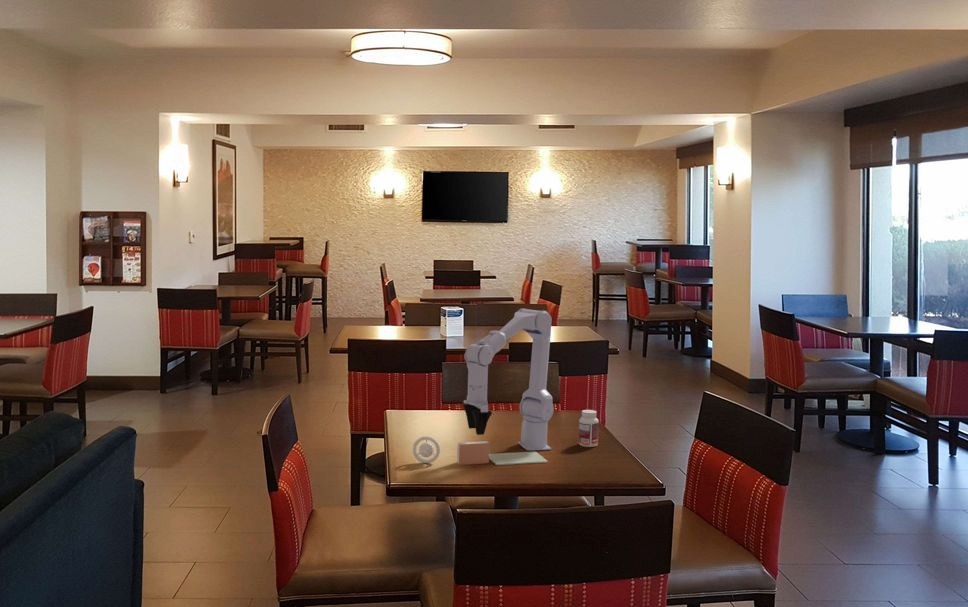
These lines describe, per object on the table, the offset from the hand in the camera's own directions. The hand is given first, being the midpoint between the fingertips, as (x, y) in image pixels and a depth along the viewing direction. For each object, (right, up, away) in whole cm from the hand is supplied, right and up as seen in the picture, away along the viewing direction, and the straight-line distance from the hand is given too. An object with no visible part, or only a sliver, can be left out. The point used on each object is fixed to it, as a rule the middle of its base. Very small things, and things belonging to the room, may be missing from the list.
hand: (476, 431), depth 263 cm
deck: (-1, -10, +1) cm, 10 cm away
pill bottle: (+36, -8, +25) cm, 45 cm away
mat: (+12, -9, +7) cm, 16 cm away
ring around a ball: (-15, -10, -2) cm, 18 cm away
